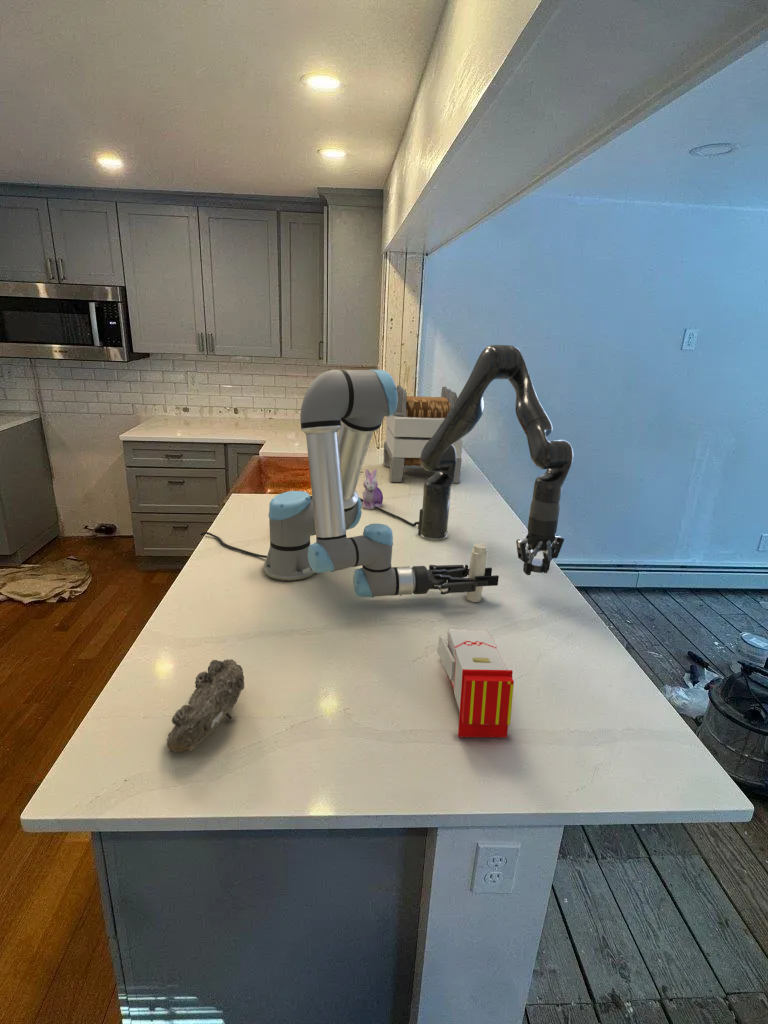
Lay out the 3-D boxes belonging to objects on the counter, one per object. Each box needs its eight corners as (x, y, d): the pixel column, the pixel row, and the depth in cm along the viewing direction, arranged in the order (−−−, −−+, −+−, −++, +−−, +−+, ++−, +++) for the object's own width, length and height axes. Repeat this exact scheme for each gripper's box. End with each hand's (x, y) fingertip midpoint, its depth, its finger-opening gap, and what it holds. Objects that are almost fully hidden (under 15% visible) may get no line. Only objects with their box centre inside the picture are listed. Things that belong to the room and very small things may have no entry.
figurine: (367, 511, 220) (368, 474, 215) (356, 503, 228) (357, 467, 223) (388, 508, 224) (390, 471, 219) (377, 500, 233) (378, 465, 228)
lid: (546, 567, 157) (547, 560, 156) (545, 574, 153) (546, 567, 152) (527, 564, 158) (528, 557, 158) (526, 571, 154) (527, 564, 153)
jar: (462, 597, 158) (469, 544, 152) (473, 593, 160) (480, 541, 155) (473, 603, 154) (480, 549, 149) (484, 599, 157) (491, 546, 152)
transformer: (382, 463, 289) (386, 382, 275) (445, 464, 293) (451, 384, 279) (390, 482, 257) (394, 392, 243) (460, 483, 261) (468, 394, 247)
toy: (488, 613, 130) (523, 677, 101) (484, 667, 133) (517, 744, 104) (435, 612, 130) (455, 676, 101) (432, 666, 133) (451, 743, 103)
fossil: (192, 660, 117) (244, 628, 112) (224, 691, 120) (276, 661, 115) (142, 746, 98) (202, 712, 93) (182, 779, 101) (242, 748, 96)
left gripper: (404, 578, 161) (482, 574, 165) (419, 608, 145) (504, 603, 149) (405, 554, 158) (484, 551, 163) (420, 582, 142) (508, 578, 147)
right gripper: (558, 508, 156) (549, 564, 162) (512, 512, 151) (505, 570, 157) (575, 517, 149) (565, 576, 155) (528, 522, 145) (520, 582, 150)
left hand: (494, 576), depth 156 cm, fingers closed on jar, 4 cm apart
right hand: (535, 572), depth 156 cm, fingers closed on lid, 4 cm apart
